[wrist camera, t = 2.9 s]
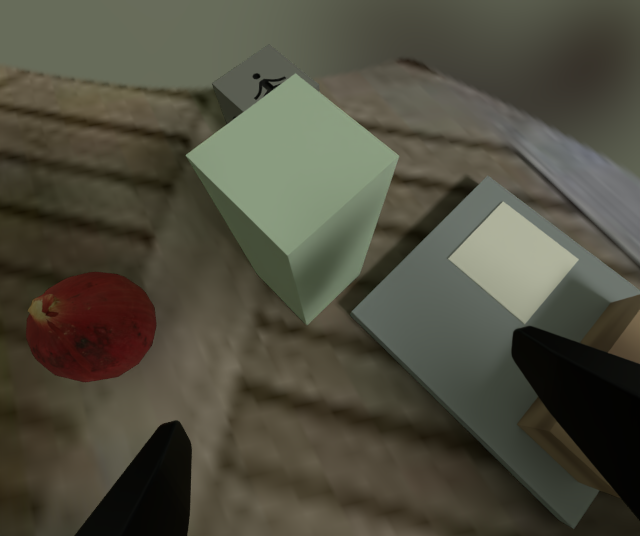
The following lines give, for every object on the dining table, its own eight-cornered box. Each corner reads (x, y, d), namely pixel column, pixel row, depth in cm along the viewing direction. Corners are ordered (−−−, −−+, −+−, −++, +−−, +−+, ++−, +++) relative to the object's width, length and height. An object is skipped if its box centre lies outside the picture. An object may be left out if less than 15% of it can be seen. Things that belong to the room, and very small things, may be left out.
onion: (193, 345, 22) (127, 325, 15) (111, 401, 21) (-6, 411, 14) (151, 275, 24) (72, 224, 16) (73, 324, 23) (-52, 295, 15)
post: (306, 325, 23) (287, 255, 10) (256, 273, 24) (185, 155, 12) (359, 274, 24) (399, 156, 11) (309, 227, 25) (295, 73, 13)
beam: (578, 482, 19) (624, 500, 16) (516, 424, 20) (549, 431, 17) (670, 349, 21) (725, 343, 18) (610, 302, 22) (654, 290, 19)
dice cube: (272, 174, 26) (261, 128, 22) (230, 135, 28) (211, 83, 23) (319, 136, 27) (319, 84, 23) (277, 100, 29) (269, 44, 24)
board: (558, 520, 19) (575, 529, 18) (350, 315, 23) (351, 311, 22) (682, 339, 22) (703, 337, 21) (480, 184, 26) (488, 174, 25)
